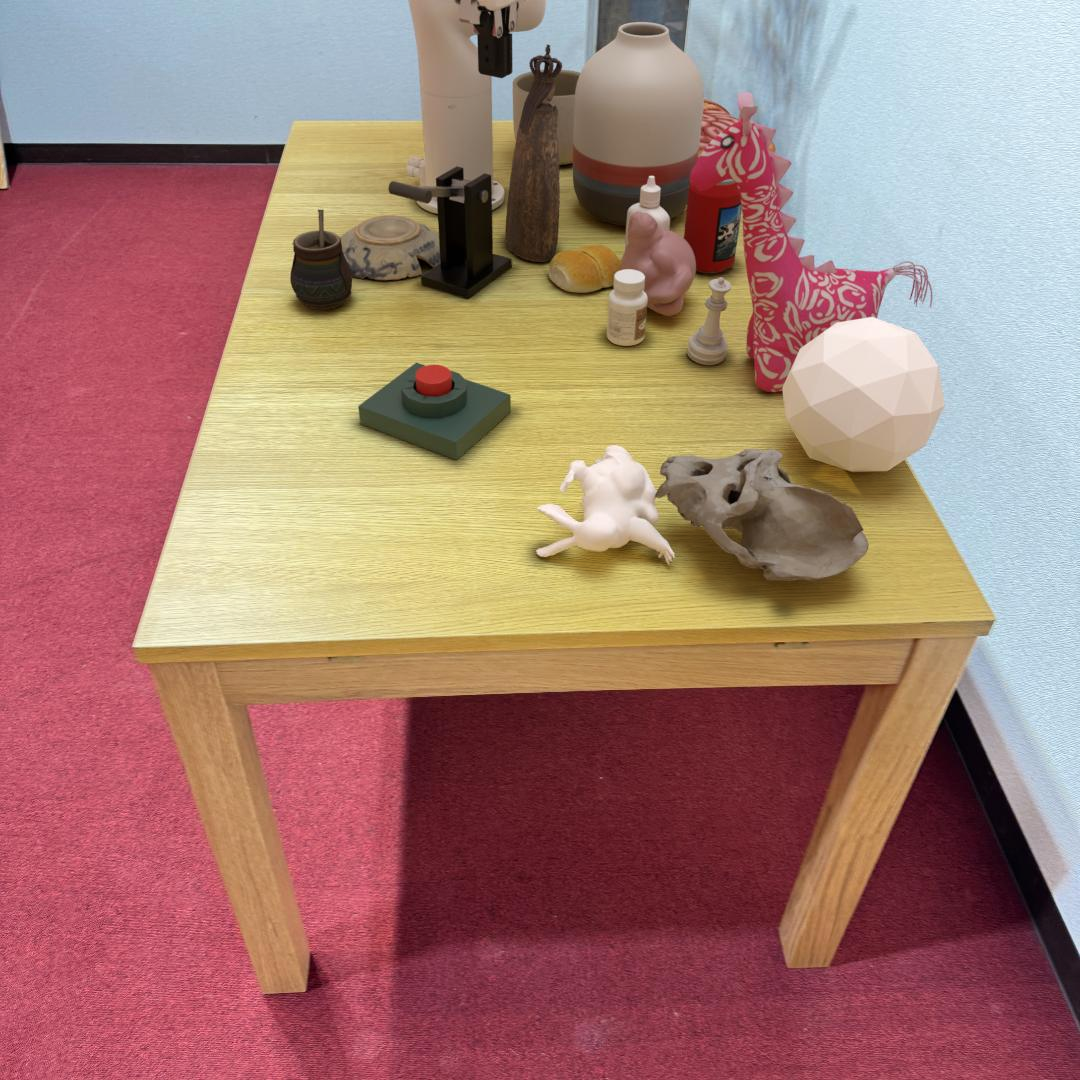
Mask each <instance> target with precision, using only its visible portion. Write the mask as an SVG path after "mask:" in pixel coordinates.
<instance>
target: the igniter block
mask: <svg viewBox="0 0 1080 1080" xmlns="http://www.w3.org/2000/svg"><path fill="white" fill-rule="evenodd" d="M424 366H426V365H425V364H423V363H419V362H415V363H413V364H412V365H411V366H409V367H407V368H406V369H405V370H404V371H403V372H402V373H400V374H398V375H397V376H396V377H395V378H394V379H392V380H391V381H390V382H388V383H387V384H386V385H384V386H383V387H381V388H380V389H379V390H378V391H376V392H375V393H373V394H372V395H371V396H370V397H369V398H367V399H366V400H365V401H363V402H362V403H360V404H359V405H358V406H357V407H358V416H359V424H360V425H362V426H365V427H368V428H370V429H373V430H376V431H379V432H381V433H383V434H386V435H389V436H391V437H394V438H397V439H399V440H402V441H405V442H407V443H410V444H413V445H416V446H418V447H420V448H424V449H426V450H428V451H431V452H433V453H436V454H439V455H442V456H445V457H447V458H449V459H451V460H454V461H457V460H459V459H460V458H461V457H463V455H465V453H467V451H469V450H470V449H471V448H473V446H474V445H475V444H477V443H478V442H479V441H480V440H481V439H482V438H483V437H484V436H486V435H487V434H488V433H489V432H490V431H491V430H492V429H494V428H495V427H496V426H497V425H498V424H499V423H500V422H501V421H503V420H504V418H506V417H507V416H508V415H509V414H511V413H512V409H511V407H512V406H511V404H512V403H511V402H512V401H511V399H512V397H511V394H509V393H507V392H504V391H501V390H498V389H495V388H492V387H490V386H487V385H484V384H481V383H478V382H475V381H472V380H469V379H466V378H465V377H463V375H462V374H461V373H460V372H457V371H453V370H451V369H449V370H450V371H451V377H452V390H451V391H450V392H449V393H448V394H445V395H442V396H438V397H433V396H424V395H421V394H419V393H418V392H417V389H416V377H415V374H416V372H417V370H418V369H420V368H422V367H424Z"/></svg>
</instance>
